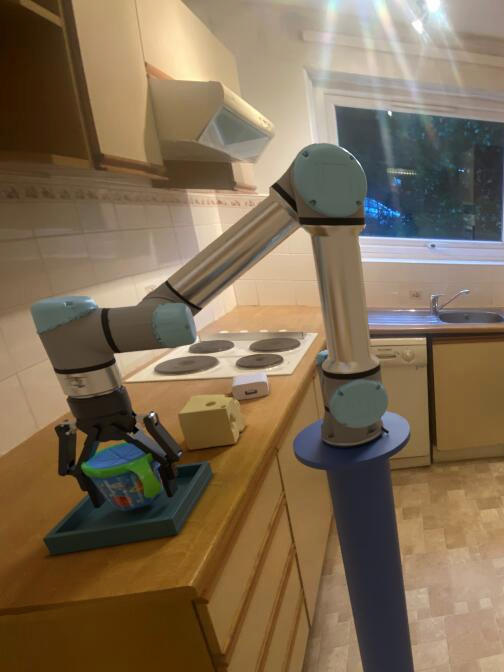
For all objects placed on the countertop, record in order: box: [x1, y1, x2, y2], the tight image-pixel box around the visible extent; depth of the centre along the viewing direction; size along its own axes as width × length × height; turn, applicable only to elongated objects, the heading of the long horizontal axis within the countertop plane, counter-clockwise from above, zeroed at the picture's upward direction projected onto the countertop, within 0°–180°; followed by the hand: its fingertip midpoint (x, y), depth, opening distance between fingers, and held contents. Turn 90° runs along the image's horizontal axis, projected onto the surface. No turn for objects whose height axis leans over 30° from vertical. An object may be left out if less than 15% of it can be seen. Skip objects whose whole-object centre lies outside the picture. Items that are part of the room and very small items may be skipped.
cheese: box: [177, 393, 247, 451], centre depth 105 cm, size 10×11×10 cm
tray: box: [42, 460, 214, 556], centre depth 82 cm, size 18×19×4 cm
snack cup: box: [81, 441, 163, 512], centre depth 79 cm, size 16×10×10 cm
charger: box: [231, 371, 270, 401], centre depth 135 cm, size 5×9×15 cm
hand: (137, 498), depth 81 cm, fingers closed on snack cup, 11 cm apart
